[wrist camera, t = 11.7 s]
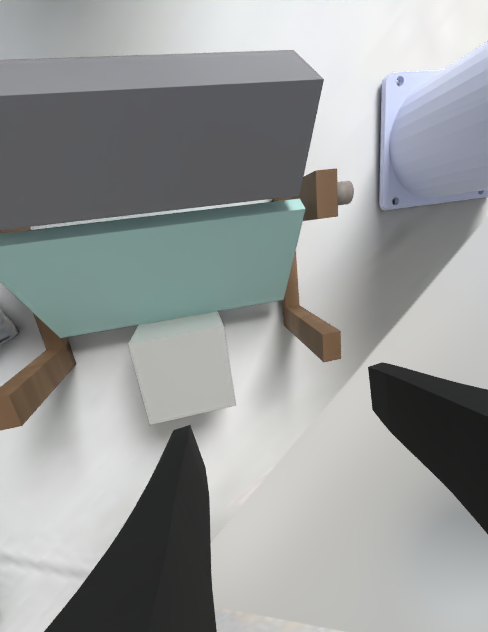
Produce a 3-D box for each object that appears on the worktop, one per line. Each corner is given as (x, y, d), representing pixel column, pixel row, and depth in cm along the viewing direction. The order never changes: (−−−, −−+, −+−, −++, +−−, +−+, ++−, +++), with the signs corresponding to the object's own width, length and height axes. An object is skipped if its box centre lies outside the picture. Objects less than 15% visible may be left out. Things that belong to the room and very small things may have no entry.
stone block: (223, 326, 15) (236, 405, 16) (215, 304, 20) (225, 367, 21) (127, 344, 14) (149, 424, 16) (142, 317, 19) (158, 381, 20)
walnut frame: (293, 97, 17) (352, 19, 11) (306, 321, 21) (354, 355, 15) (-47, 118, 14) (-224, 29, 8) (47, 369, 19) (-22, 435, 12)
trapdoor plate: (305, 49, 10) (338, 78, 9) (271, 268, 20) (283, 300, 19) (-132, 64, 8) (-194, 105, 7) (66, 300, 18) (60, 339, 17)
